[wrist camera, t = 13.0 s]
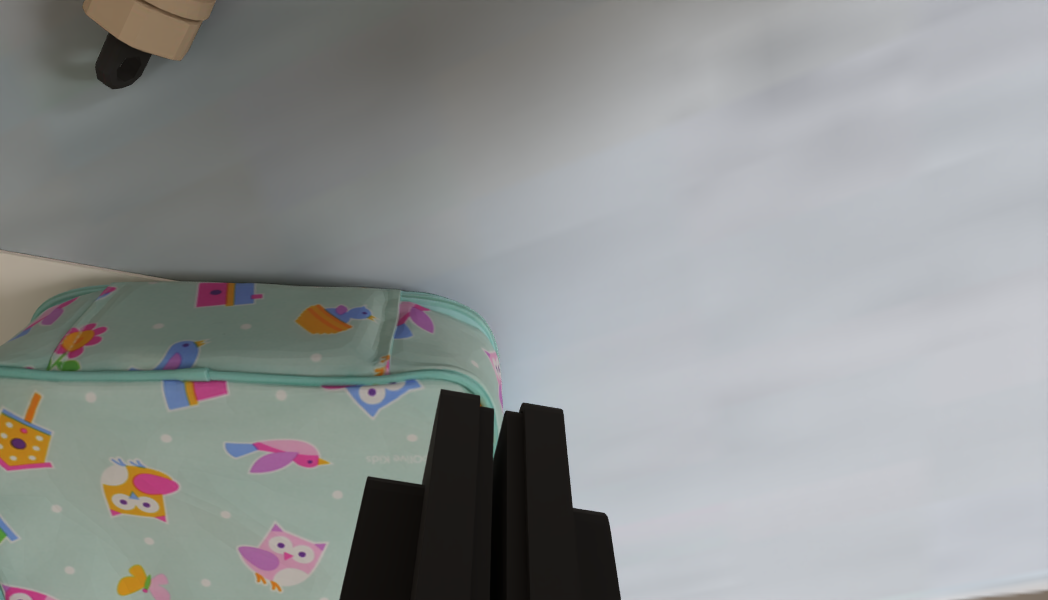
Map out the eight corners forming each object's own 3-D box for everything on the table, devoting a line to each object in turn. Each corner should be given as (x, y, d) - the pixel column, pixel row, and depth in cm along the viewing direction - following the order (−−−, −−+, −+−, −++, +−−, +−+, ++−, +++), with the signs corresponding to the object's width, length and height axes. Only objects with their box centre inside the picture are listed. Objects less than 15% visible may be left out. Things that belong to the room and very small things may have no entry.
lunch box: (-5, 265, 46) (84, 567, 56) (-132, 372, 37) (2, 710, 47) (506, 269, 47) (504, 568, 57) (504, 376, 37) (502, 710, 48)
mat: (-11, 247, 46) (-14, 250, 46) (479, 333, 49) (479, 336, 49) (7, 512, 54) (4, 516, 54) (428, 573, 57) (427, 577, 56)
